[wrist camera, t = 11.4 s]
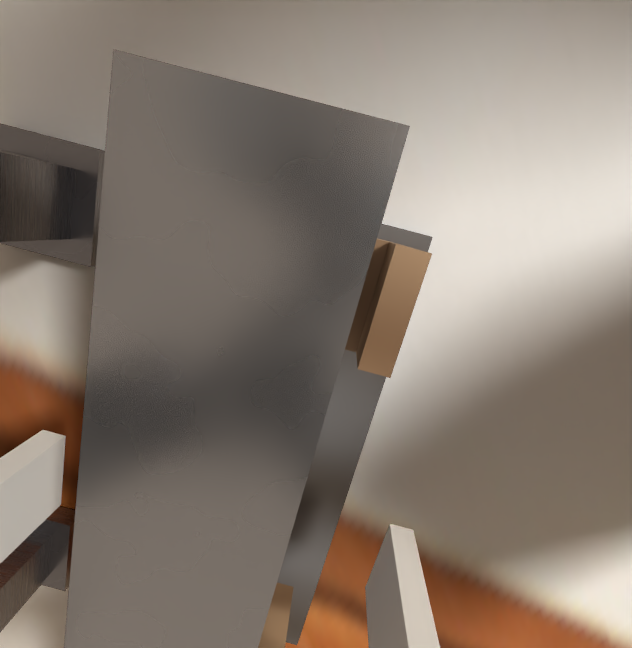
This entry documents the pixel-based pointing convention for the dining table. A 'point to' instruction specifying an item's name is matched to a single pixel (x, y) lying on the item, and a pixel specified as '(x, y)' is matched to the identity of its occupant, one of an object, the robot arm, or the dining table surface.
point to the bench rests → (347, 422)
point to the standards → (64, 243)
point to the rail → (213, 346)
